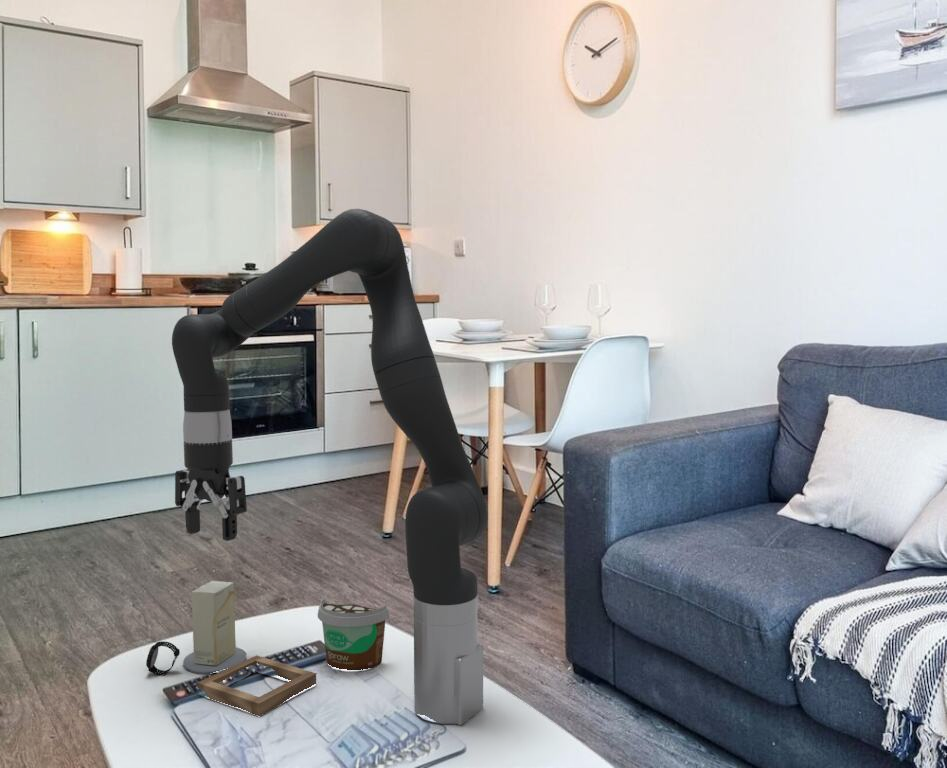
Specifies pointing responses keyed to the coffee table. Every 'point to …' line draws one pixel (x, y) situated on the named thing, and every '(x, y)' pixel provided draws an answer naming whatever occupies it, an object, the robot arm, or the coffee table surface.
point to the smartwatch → (153, 656)
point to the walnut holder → (251, 702)
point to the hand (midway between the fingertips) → (211, 536)
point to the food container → (353, 635)
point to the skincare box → (213, 622)
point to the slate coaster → (207, 669)
